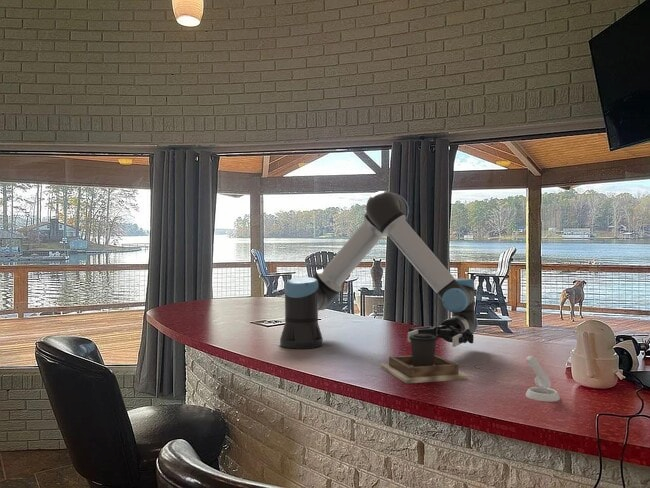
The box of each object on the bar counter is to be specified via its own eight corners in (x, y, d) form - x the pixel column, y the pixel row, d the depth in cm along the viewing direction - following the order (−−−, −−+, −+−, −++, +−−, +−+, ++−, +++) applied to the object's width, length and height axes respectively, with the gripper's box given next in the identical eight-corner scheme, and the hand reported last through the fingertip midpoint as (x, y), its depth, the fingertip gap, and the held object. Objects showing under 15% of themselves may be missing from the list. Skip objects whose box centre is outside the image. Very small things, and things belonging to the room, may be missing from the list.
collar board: (406, 383, 142) (406, 370, 142) (381, 367, 159) (381, 355, 159) (467, 379, 147) (468, 366, 146) (437, 364, 164) (437, 352, 164)
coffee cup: (431, 374, 147) (431, 337, 147) (403, 370, 152) (403, 334, 151) (442, 368, 154) (442, 333, 154) (415, 364, 158) (415, 330, 158)
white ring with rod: (501, 373, 132) (517, 354, 135) (529, 412, 133) (545, 392, 136) (522, 374, 125) (539, 354, 128) (552, 414, 126) (568, 394, 129)
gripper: (493, 344, 169) (473, 357, 151) (417, 337, 182) (391, 347, 164) (493, 320, 169) (473, 330, 151) (417, 314, 182) (391, 323, 164)
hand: (430, 339), depth 158 cm, fingers open, 13 cm apart
